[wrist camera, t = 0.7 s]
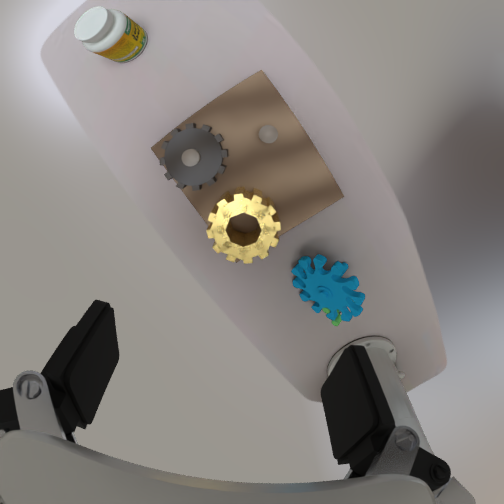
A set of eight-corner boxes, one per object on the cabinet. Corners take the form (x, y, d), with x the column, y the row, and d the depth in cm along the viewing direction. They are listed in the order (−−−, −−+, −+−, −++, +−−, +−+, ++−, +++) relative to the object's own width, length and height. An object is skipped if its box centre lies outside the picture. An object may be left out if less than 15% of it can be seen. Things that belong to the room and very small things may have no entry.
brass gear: (288, 202, 31) (292, 211, 27) (261, 257, 33) (262, 273, 30) (226, 176, 30) (222, 182, 26) (203, 234, 32) (197, 248, 29)
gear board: (341, 194, 31) (353, 203, 27) (236, 258, 35) (233, 276, 31) (261, 72, 26) (262, 61, 22) (154, 147, 29) (138, 150, 25)
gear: (279, 254, 33) (355, 271, 26) (305, 228, 36) (377, 238, 29) (299, 317, 38) (362, 339, 31) (321, 290, 41) (381, 306, 34)
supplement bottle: (105, 42, 23) (63, 23, 14) (140, 19, 22) (106, -9, 14) (117, 71, 25) (74, 56, 16) (154, 48, 24) (120, 22, 15)
